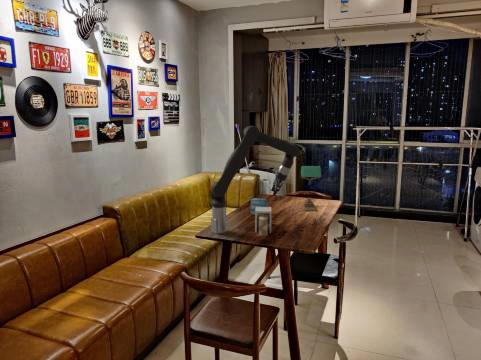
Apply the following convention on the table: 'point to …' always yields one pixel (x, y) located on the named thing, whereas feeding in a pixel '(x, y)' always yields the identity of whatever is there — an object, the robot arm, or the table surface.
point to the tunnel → (262, 210)
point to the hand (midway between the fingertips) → (273, 193)
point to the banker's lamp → (310, 173)
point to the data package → (257, 204)
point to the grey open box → (267, 224)
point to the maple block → (263, 224)
